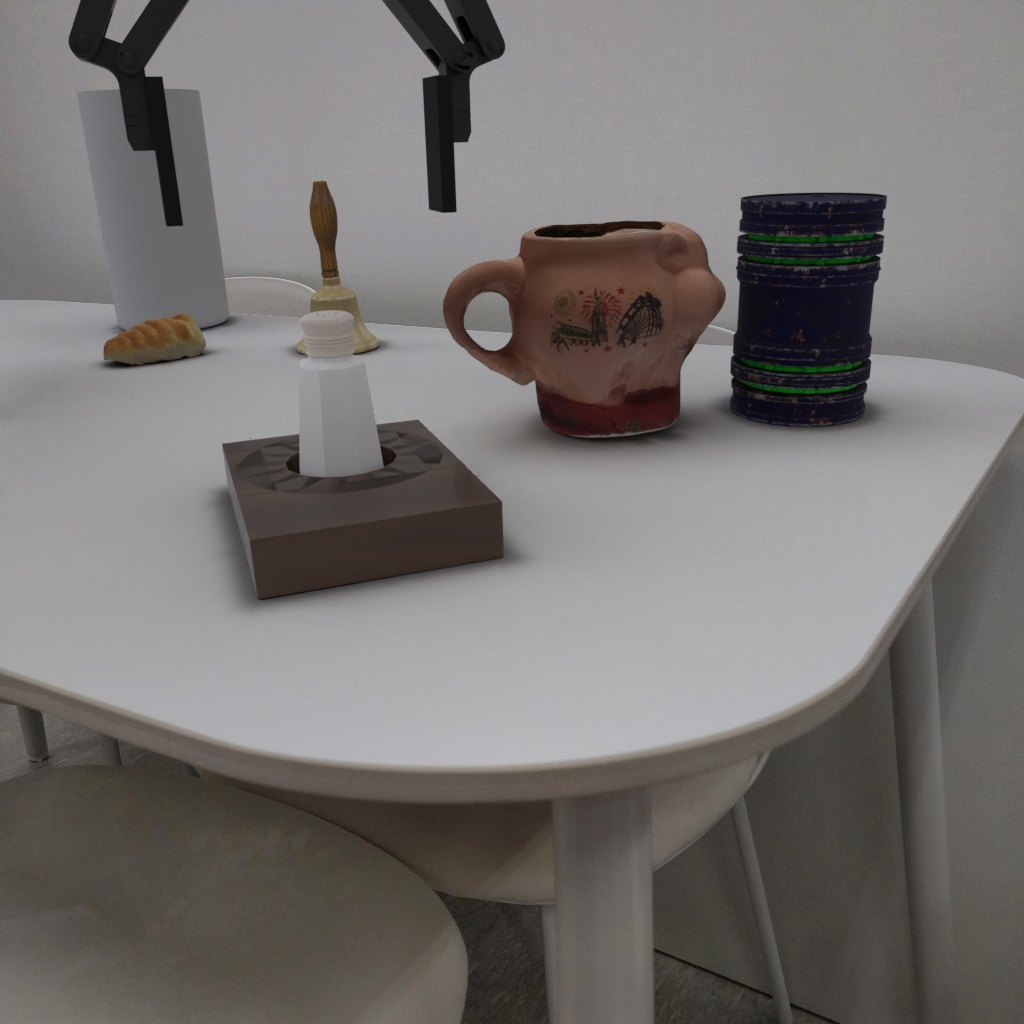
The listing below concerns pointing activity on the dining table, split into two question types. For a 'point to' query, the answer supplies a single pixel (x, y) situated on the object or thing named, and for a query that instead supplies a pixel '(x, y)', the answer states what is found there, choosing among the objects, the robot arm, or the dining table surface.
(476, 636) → the dining table surface
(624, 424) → the ceramic mug
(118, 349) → the pastry
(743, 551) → the dining table surface
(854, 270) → the storage jar
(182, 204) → the cylinder vase
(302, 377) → the salt shaker
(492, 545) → the holder
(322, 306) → the hand bell
